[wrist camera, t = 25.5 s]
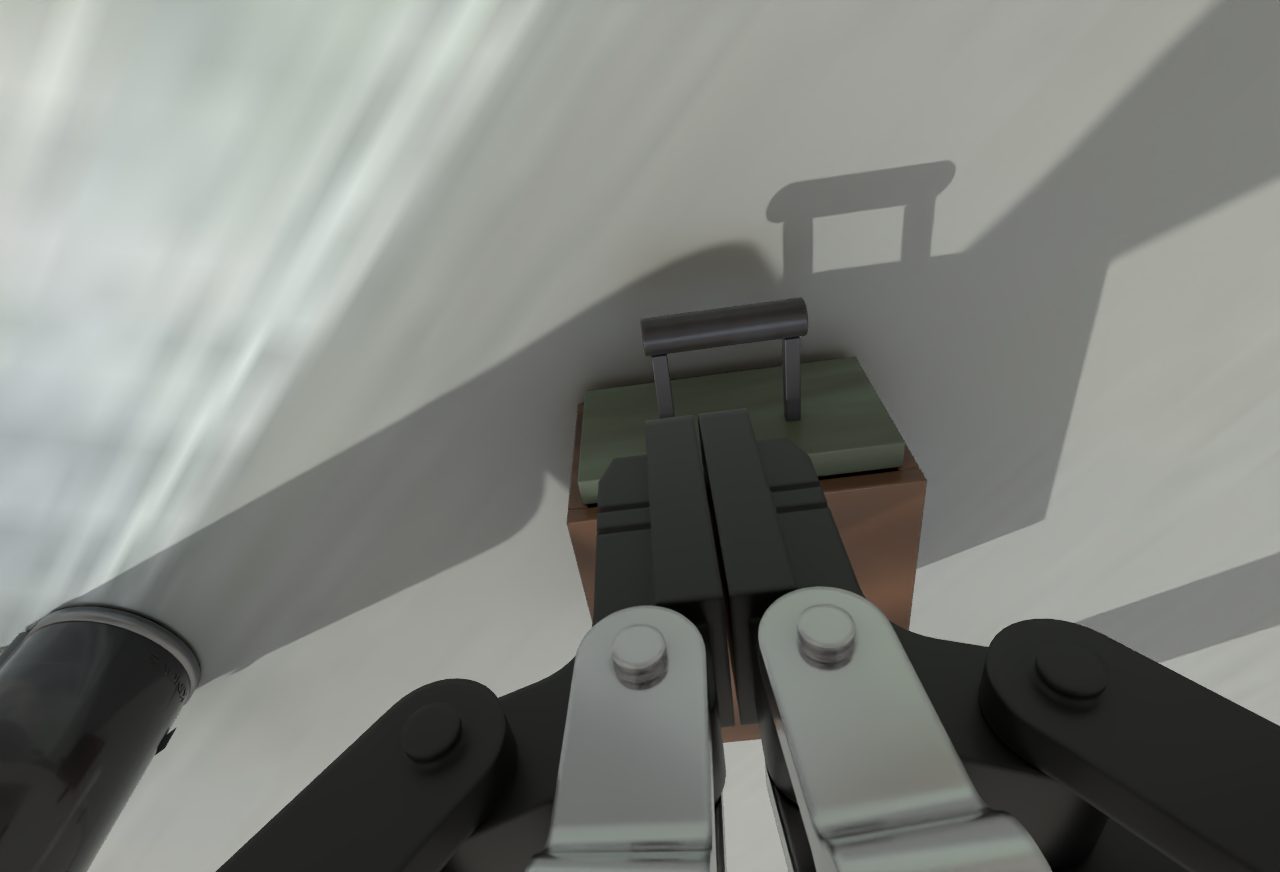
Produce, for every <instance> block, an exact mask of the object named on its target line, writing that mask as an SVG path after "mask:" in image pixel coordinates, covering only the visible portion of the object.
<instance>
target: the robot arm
mask: <svg viewBox="0 0 1280 872" xmlns="http://www.w3.org/2000/svg"><path fill="white" fill-rule="evenodd" d="M697 417H698V429H699V439H700V449H701V458H700V452H699V446H698V440H697V434H696V427H695V421H694V416H693V415H687V416H679V417H671V418H663V419H655V420H647V421H645V434H646V452H647V455H638V456H630V457H622V458H614V459H613V460H612V462H611V463H610V465H609V466H608V468H607V470H606V471H605V473H604V474H603V476H602V477H601V479H600V481H599V482H598V507H597V508H598V513H597V535H596V561H595V588H594V615H593V624H592V628H591V629H590V630H589V631H588V632H587V634H586V635H585V637H584V638H583V640H582V641H581V643H580V645H579V648H578V650H577V654H576V656H575V657H574V658H573V659H572V660H571V661H570V662H569V663H568V664H567V665H565V666H564V667H563V668H562V669H560V670H559V671H557V672H556V673H554V674H553V675H551V676H549V677H547V678H545V679H543V680H541V681H539V682H536V683H534V684H531V685H529V686H526V687H524V688H522V689H519V690H517V691H514V692H512V693H509V694H507V695H504V696H502V697H499V698H497V697H496V695H495V694H494V693H493V692H492V691H491V690H490V689H489V688H487V687H486V686H484V685H482V684H480V683H478V682H475V681H472V680H468V679H445V680H440V681H436V682H433V683H430V684H427V685H424V686H422V687H420V688H418V689H416V690H414V691H412V692H411V693H409V694H408V695H406V696H405V697H403V698H402V699H401V700H399V701H398V702H397V703H396V704H395V705H393V706H392V707H391V708H390V709H389V710H388V711H387V712H386V713H385V714H384V715H383V716H381V717H380V718H379V719H378V720H377V721H376V722H375V723H374V724H373V725H372V726H371V727H370V728H369V729H368V730H367V731H365V732H364V733H363V734H362V735H361V736H360V737H359V738H358V739H357V740H356V741H355V742H354V743H353V744H352V745H351V746H349V747H348V748H347V749H346V750H345V751H344V752H343V753H342V754H341V755H340V756H339V757H338V758H337V759H336V760H334V761H333V762H332V763H331V764H330V765H329V766H328V767H327V768H326V769H325V770H324V771H323V772H322V773H321V774H320V775H318V776H317V777H316V778H315V779H314V780H313V781H312V782H311V783H310V784H309V785H308V786H307V787H306V788H305V789H303V790H302V791H301V792H300V793H299V794H298V795H297V796H296V797H295V798H294V799H293V800H292V801H291V802H290V803H289V804H287V805H286V806H285V807H284V808H283V809H282V810H281V811H280V812H279V813H278V814H277V815H276V816H275V817H274V818H273V819H271V820H270V821H269V822H268V823H267V824H266V825H265V826H264V827H263V828H262V829H261V830H260V831H259V832H258V833H256V834H255V835H254V836H253V837H252V838H251V839H250V840H249V841H248V842H247V843H246V844H245V845H244V846H243V847H242V848H240V849H239V850H238V851H237V852H236V853H235V854H234V855H233V856H232V857H231V858H230V859H229V860H228V861H227V862H226V863H224V864H223V865H222V866H221V867H220V868H219V869H218V870H217V871H216V872H727V866H726V846H725V825H724V805H723V791H722V790H723V787H724V784H725V777H726V770H725V758H724V749H723V740H722V732H721V728H722V727H732V726H735V718H734V707H733V696H732V685H731V674H730V664H729V655H730V661H731V668H732V674H733V680H734V686H735V693H736V699H737V705H738V712H739V718H740V724H741V725H748V724H758V723H759V729H760V734H761V740H762V745H763V751H764V756H765V770H766V784H767V790H768V794H769V798H770V802H771V806H772V809H773V813H774V817H775V821H776V825H777V829H778V833H779V837H780V840H781V844H782V848H783V852H784V856H785V860H786V864H787V868H788V871H789V872H1280V726H1278V725H1276V724H1274V723H1273V722H1271V721H1269V720H1267V719H1265V718H1263V717H1261V716H1259V715H1257V714H1255V713H1253V712H1251V711H1249V710H1248V709H1246V708H1244V707H1242V706H1240V705H1238V704H1236V703H1234V702H1232V701H1230V700H1228V699H1226V698H1224V697H1222V696H1221V695H1219V694H1217V693H1215V692H1213V691H1211V690H1209V689H1207V688H1205V687H1203V686H1201V685H1199V684H1197V683H1196V682H1194V681H1192V680H1190V679H1188V678H1186V677H1184V676H1182V675H1180V674H1178V673H1176V672H1174V671H1172V670H1170V669H1169V668H1167V667H1165V666H1163V665H1161V664H1159V663H1157V662H1155V661H1153V660H1151V659H1149V658H1147V657H1145V656H1143V655H1142V654H1140V653H1138V652H1136V651H1134V650H1132V649H1130V648H1128V647H1126V646H1124V645H1122V644H1120V643H1118V642H1117V641H1115V640H1113V639H1111V638H1109V637H1107V636H1105V635H1103V634H1101V633H1099V632H1097V631H1094V630H1092V629H1090V628H1087V627H1084V626H1081V625H1078V624H1075V623H1071V622H1067V621H1062V620H1054V619H1031V620H1024V621H1021V622H1017V623H1014V624H1012V625H1010V626H1008V627H1006V628H1004V629H1003V630H1002V631H1000V632H999V633H998V634H997V635H996V636H995V637H994V639H993V640H992V642H991V643H990V646H989V647H984V646H978V645H972V644H965V643H959V642H953V641H947V640H941V639H935V638H931V637H926V636H922V635H919V634H916V633H913V632H910V631H908V630H906V629H904V628H902V627H899V626H898V625H896V624H894V623H893V622H891V621H889V620H888V619H887V617H886V616H885V615H884V614H883V612H882V611H881V610H880V609H879V608H878V607H876V606H875V605H874V604H873V603H871V602H870V601H868V600H867V599H866V597H865V596H864V594H863V592H862V590H861V588H860V586H859V583H858V581H857V578H856V576H855V573H854V570H853V568H852V565H851V563H850V560H849V557H848V555H847V552H846V550H845V547H844V544H843V542H842V539H841V536H840V534H839V531H838V529H837V526H836V523H835V521H834V518H833V516H832V513H831V510H830V508H828V504H827V500H826V497H825V495H824V492H823V490H822V487H820V483H819V479H818V476H817V474H816V471H815V469H814V466H813V463H812V461H811V458H810V456H809V455H807V454H806V453H805V452H804V451H803V450H802V449H800V448H799V447H798V446H797V445H796V444H795V443H793V442H792V441H791V440H790V439H789V438H788V437H784V438H776V439H768V440H760V441H756V438H755V434H754V431H753V427H752V424H751V420H750V417H749V413H748V410H747V408H742V409H734V410H726V411H717V412H709V413H701V414H697ZM701 459H702V464H701ZM702 468H703V470H702ZM728 649H729V653H728ZM199 680H200V667H199V664H198V661H197V659H196V657H195V655H194V654H193V652H192V651H191V650H190V649H189V647H188V646H187V645H186V644H185V643H184V642H183V641H182V640H180V639H179V638H178V637H177V636H176V635H174V634H173V633H171V632H170V631H168V630H167V629H165V628H164V627H162V626H160V625H158V624H156V623H154V622H152V621H150V620H148V619H145V618H143V617H140V616H137V615H134V614H131V613H128V612H124V611H120V610H116V609H110V608H104V607H92V606H81V607H71V608H65V609H61V610H58V611H55V612H52V613H50V614H48V615H47V616H45V617H44V618H42V619H41V620H40V621H39V622H38V623H37V625H36V626H35V627H34V628H33V629H32V630H31V631H30V632H23V633H20V634H19V635H18V636H17V637H16V638H15V639H14V640H13V641H12V643H11V644H10V645H9V646H8V647H7V648H6V649H5V651H4V652H3V653H2V654H1V655H0V872H87V871H88V869H89V867H90V866H91V864H92V862H93V860H94V859H95V857H96V855H97V853H98V852H99V850H100V848H101V847H102V845H103V843H104V841H105V840H106V838H107V836H108V835H109V833H110V831H111V829H112V828H113V826H114V824H115V823H116V821H117V819H118V817H119V816H120V814H121V812H122V810H123V809H124V807H125V805H126V804H127V802H128V800H129V798H130V797H131V795H132V793H133V792H134V790H135V788H136V786H137V785H138V783H139V781H140V780H141V778H142V776H143V774H144V773H145V771H146V769H147V767H148V766H149V764H150V762H151V761H152V759H153V757H154V756H155V755H156V754H157V753H159V752H160V751H162V750H163V749H164V748H165V747H166V745H167V743H168V742H169V740H170V738H171V736H172V735H173V733H174V731H175V729H176V728H177V727H176V728H175V729H174V730H172V731H171V732H170V733H168V732H169V730H170V728H171V726H172V725H173V723H174V721H175V719H176V718H177V716H178V714H179V712H180V711H181V709H182V707H183V706H184V705H185V704H186V703H187V702H188V700H189V699H190V697H191V695H192V694H193V692H194V690H195V688H196V687H197V685H198V683H199ZM167 733H168V734H167Z"/></svg>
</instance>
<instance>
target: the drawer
mask: <svg viewBox="0 0 1280 872" xmlns="http://www.w3.org/2000/svg"><path fill="white" fill-rule="evenodd" d="M641 330H642V338H643V345H644V351H645V355H646V356H651V360H652V367H653V374H654V381H655V382H654V383H646V384H638V385H631V386H623V387H615V388H607V389H600V390H592V391H586V392H585V397H584V409H583V422H582V434H581V446H580V458H579V470H578V486H579V491H580V495H581V499H582V503H583V504H584V505H585V504H594V503H598V482H599V481H600V479H601V477H602V476H603V474H604V473H605V471H606V470H607V468H608V466H609V465H610V463H611V462H612V460H613V459H614V458H622V457H630V456H638V455H647V452H646V434H645V421H647V420H655V419H663V418H671V417H679V416H687V415H693V416H694V421H695V427H696V434H697V440H698V446H699V452H700V458H701V449H700V439H699V429H698V417H697V414H701V413H709V412H717V411H726V410H734V409H742V408H747V410H748V413H749V417H750V420H751V424H752V427H753V431H754V434H755V438H756V441H760V440H768V439H776V438H784V437H788V438H789V439H790V440H791V441H792V442H793V443H795V444H796V445H797V446H798V447H799V448H800V449H802V450H803V451H804V452H805V453H806V454H807V455H809V456H810V458H811V461H812V463H813V466H814V469H815V471H816V474H817V476H818V479H819V480H825V479H834V478H842V477H850V476H859V475H867V474H872V473H871V471H870V470H878V469H886V468H895V467H902V466H903V458H904V448H905V441H904V440H903V438H902V436H901V434H900V433H899V431H898V429H897V428H896V426H895V424H894V422H893V421H892V419H891V417H890V416H889V414H888V412H887V410H886V409H885V407H884V405H883V404H882V402H881V400H880V398H879V397H878V395H877V393H876V391H875V390H874V388H873V386H872V385H871V383H870V381H869V379H868V378H867V376H866V374H865V373H864V371H863V369H862V367H861V366H860V364H859V362H858V361H857V359H856V357H848V358H840V359H832V360H824V361H817V362H809V363H801V353H800V337H799V336H805V335H806V334H807V331H808V314H807V308H806V304H805V301H804V299H803V298H801V297H800V298H793V299H786V300H778V301H771V302H763V303H756V304H748V305H741V306H734V307H726V308H719V309H711V310H704V311H696V312H689V313H681V314H674V315H667V316H659V317H652V318H644V319H641ZM775 339H782V361H783V366H778V367H770V368H762V369H755V370H747V371H739V372H731V373H724V374H716V375H708V376H700V377H693V378H685V379H677V380H670V375H669V367H668V359H667V354H668V353H676V352H684V351H691V350H699V349H706V348H714V347H722V346H729V345H737V344H744V343H752V342H760V341H767V340H775ZM701 464H702V459H701ZM702 470H703V468H702Z"/></svg>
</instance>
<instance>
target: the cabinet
mask: <svg viewBox="0 0 1280 872" xmlns="http://www.w3.org/2000/svg"><path fill="white" fill-rule="evenodd" d="M583 409H584V404H579V405H578V409H577V420H576V430H575V441H574V451H573V462H572V472H571V483H570V493H569V504H568V515H567V526H568V530H569V534H570V538H571V542H572V546H573V549H574V553H575V557H576V561H577V565H578V569H579V573H580V576H581V580H582V584H583V588H584V592H585V596H586V600H587V604H588V607H589V611H590V615H591V619H592V623H593V615H594V588H595V561H596V535H597V513H598V508H597V507H598V503H594V504H585V505H584V504H583V503H582V499H581V495H580V491H579V486H578V470H579V458H580V446H581V434H582V422H583ZM870 471H871V473H872V474H867V475H859V476H850V477H842V478H834V479H825V480H819V483H820V487H822V490H823V492H824V495H825V497H826V500H827V504H828V508H830V510H831V513H832V516H833V518H834V521H835V523H836V526H837V529H838V531H839V534H840V536H841V539H842V542H843V544H844V547H845V550H846V552H847V555H848V557H849V560H850V563H851V565H852V568H853V570H854V573H855V576H856V578H857V581H858V583H859V586H860V588H861V590H862V592H863V594H864V596H865V597H866V599H867V600H868V601H870V602H871V603H873V604H874V605H875V606H876V607H878V608H879V609H880V610H881V611H882V612H883V614H884V615H885V616H886V617H887V619H888V620H889V621H891V622H893V623H894V624H896V625H898V626H899V627H902V628H904V629H906V630H908V631H909V624H910V616H911V607H912V599H913V591H914V583H915V574H916V566H917V558H918V550H919V541H920V533H921V525H922V517H923V509H924V500H925V492H926V484H927V480H926V478H925V476H924V474H923V473H922V471H921V469H919V466H918V464H917V462H916V461H915V459H914V457H913V456H912V454H911V452H910V450H909V449H908V447H907V445H906V443H905V448H904V458H903V466H902V467H895V468H886V469H878V470H870ZM728 653H729V649H728ZM729 664H730V674H731V685H732V696H733V707H734V718H735V726H732V727H722V728H721V732H722V740H723V743H725V742H735V741H745V740H755V739H761V734H760V729H759V723H758V724H748V725H741V724H740V718H739V712H738V705H737V699H736V693H735V686H734V680H733V674H732V668H731V661H730V655H729Z"/></svg>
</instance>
